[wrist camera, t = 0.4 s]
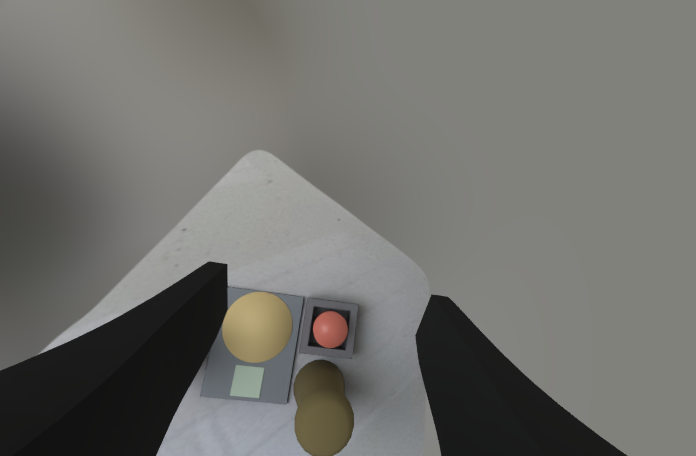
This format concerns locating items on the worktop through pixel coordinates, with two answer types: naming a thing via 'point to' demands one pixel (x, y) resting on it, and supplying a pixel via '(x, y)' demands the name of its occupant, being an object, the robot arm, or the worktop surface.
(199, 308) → the robot arm
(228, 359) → the grey kitchen scale
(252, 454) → the worktop surface
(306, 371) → the olive knobbed peg
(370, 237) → the worktop surface
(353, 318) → the button housing
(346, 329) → the button
